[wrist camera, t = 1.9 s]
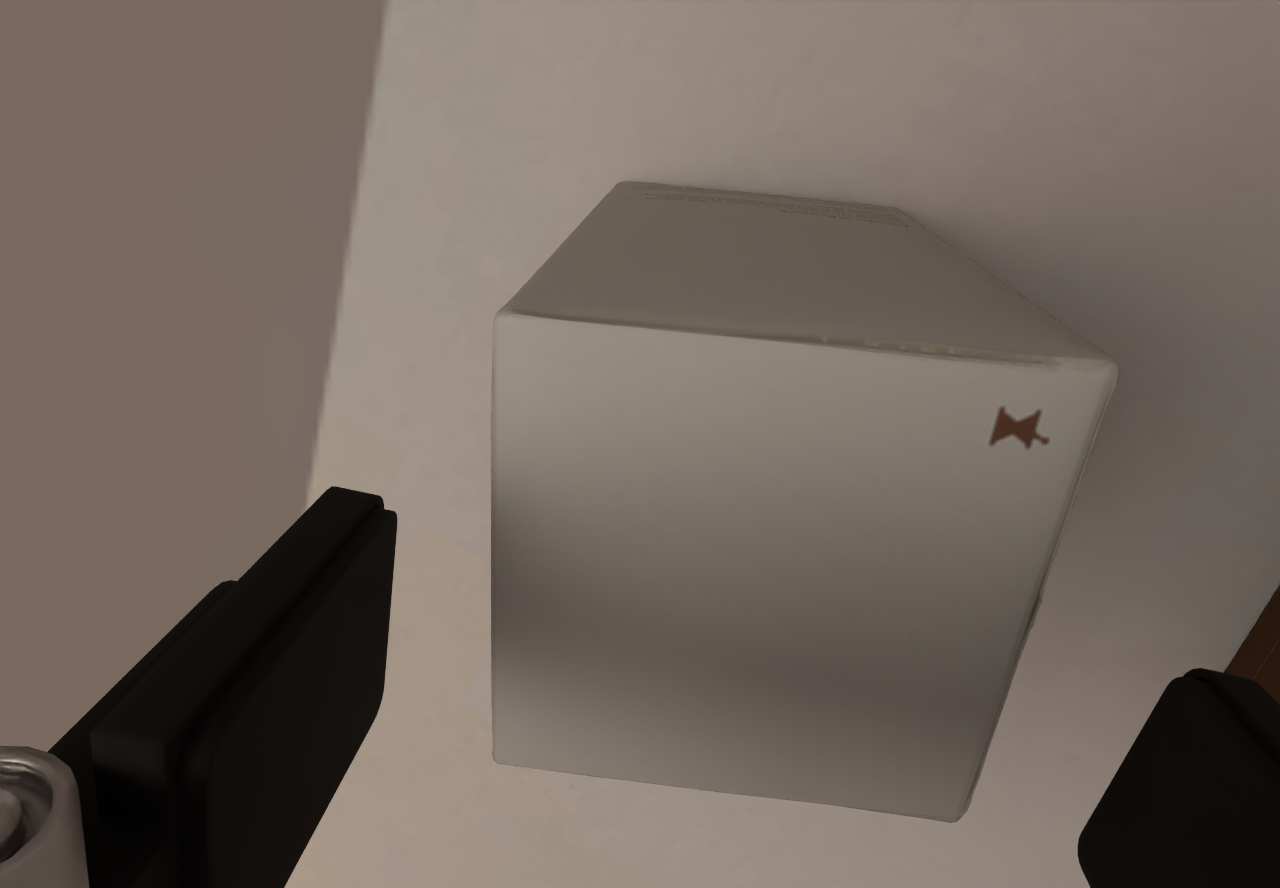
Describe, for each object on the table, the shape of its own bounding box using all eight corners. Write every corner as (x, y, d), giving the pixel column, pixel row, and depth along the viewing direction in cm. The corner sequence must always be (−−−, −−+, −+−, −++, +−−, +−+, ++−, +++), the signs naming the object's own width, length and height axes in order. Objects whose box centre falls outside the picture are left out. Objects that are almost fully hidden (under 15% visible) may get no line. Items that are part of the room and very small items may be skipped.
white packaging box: (612, 173, 20) (481, 284, 9) (905, 204, 20) (1159, 360, 9) (592, 437, 23) (475, 774, 12) (846, 467, 23) (977, 842, 12)
